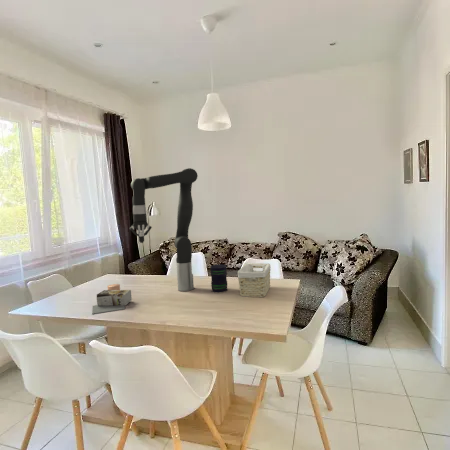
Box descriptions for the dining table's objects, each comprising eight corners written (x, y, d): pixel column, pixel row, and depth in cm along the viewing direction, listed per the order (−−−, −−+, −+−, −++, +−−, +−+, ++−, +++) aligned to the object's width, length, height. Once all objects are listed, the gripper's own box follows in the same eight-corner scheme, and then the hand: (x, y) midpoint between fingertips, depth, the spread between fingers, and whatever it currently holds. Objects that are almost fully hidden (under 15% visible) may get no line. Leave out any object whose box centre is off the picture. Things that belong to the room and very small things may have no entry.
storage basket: (266, 298, 179) (265, 271, 178) (237, 297, 184) (236, 271, 182) (272, 286, 202) (271, 263, 201) (246, 286, 206) (245, 262, 205)
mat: (123, 301, 185) (123, 301, 185) (125, 309, 172) (125, 308, 172) (92, 306, 179) (92, 305, 179) (92, 314, 166) (92, 313, 166)
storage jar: (228, 287, 204) (227, 264, 202) (226, 292, 194) (225, 267, 193) (212, 288, 205) (211, 264, 203) (210, 292, 195) (209, 268, 194)
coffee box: (124, 294, 176) (96, 294, 177) (125, 305, 176) (97, 306, 178) (131, 289, 185) (103, 289, 186) (131, 300, 185) (104, 300, 187)
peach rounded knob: (120, 294, 200) (119, 283, 199) (121, 297, 193) (120, 286, 193) (108, 296, 197) (107, 285, 197) (108, 299, 191) (107, 287, 190)
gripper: (150, 212, 196) (152, 241, 197) (127, 213, 191) (129, 243, 193) (152, 212, 189) (154, 242, 190) (128, 214, 184) (130, 244, 186)
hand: (141, 242), depth 192 cm, fingers closed
